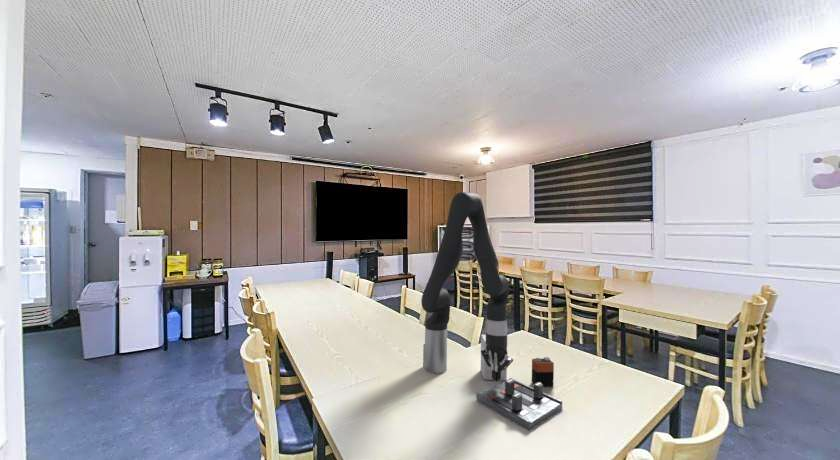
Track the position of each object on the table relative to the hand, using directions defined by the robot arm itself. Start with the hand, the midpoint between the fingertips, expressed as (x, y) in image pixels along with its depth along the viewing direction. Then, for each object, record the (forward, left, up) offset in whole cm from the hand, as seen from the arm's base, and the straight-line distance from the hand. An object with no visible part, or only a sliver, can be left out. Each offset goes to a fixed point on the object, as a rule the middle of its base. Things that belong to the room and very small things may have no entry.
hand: (496, 380), depth 112 cm
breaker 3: (+13, +6, -2) cm, 14 cm away
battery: (+6, +20, -5) cm, 21 cm away
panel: (+9, 0, -5) cm, 10 cm away
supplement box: (-10, +11, -5) cm, 15 cm away
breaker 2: (+13, -6, -2) cm, 14 cm away
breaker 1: (+5, 0, -2) cm, 6 cm away
